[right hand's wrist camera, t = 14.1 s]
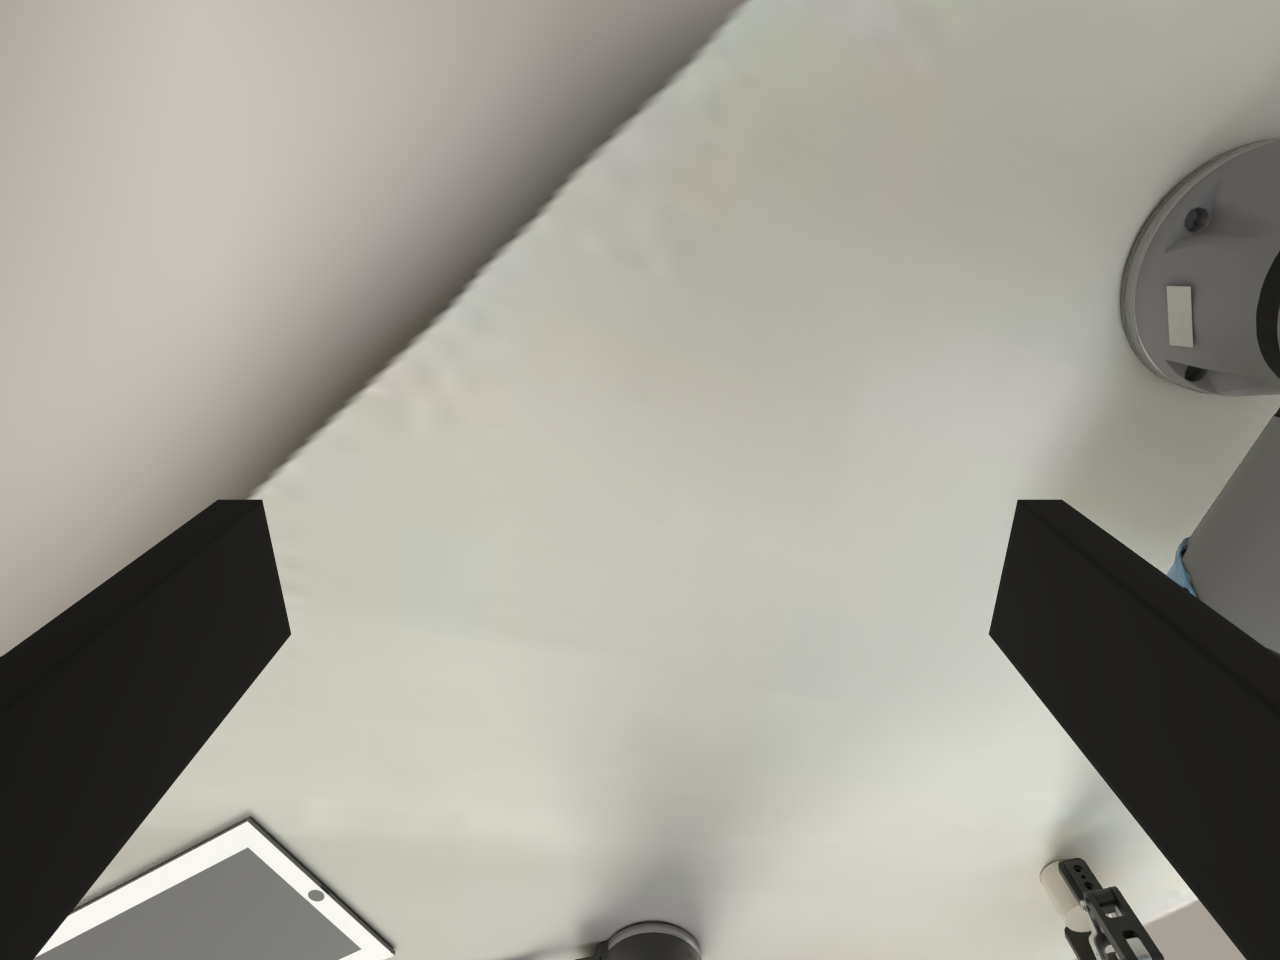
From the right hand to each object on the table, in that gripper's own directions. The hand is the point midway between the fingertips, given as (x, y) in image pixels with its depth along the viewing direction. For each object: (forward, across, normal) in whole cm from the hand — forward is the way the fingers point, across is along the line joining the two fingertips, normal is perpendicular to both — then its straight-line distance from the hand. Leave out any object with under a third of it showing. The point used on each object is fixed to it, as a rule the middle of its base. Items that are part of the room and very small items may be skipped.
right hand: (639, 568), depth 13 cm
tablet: (+36, -42, -61) cm, 83 cm away
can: (+36, +38, -52) cm, 74 cm away
